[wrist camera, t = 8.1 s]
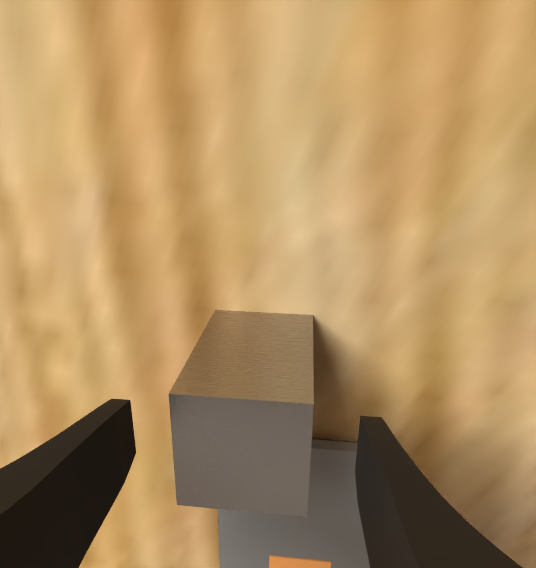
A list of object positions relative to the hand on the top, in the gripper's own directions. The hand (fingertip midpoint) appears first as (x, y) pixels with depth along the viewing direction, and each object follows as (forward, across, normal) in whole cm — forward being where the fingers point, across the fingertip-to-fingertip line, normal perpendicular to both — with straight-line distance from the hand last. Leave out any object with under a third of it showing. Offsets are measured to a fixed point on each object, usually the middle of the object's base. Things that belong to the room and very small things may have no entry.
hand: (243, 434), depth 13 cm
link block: (+5, 0, 0) cm, 5 cm away
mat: (+5, -2, +8) cm, 10 cm away
